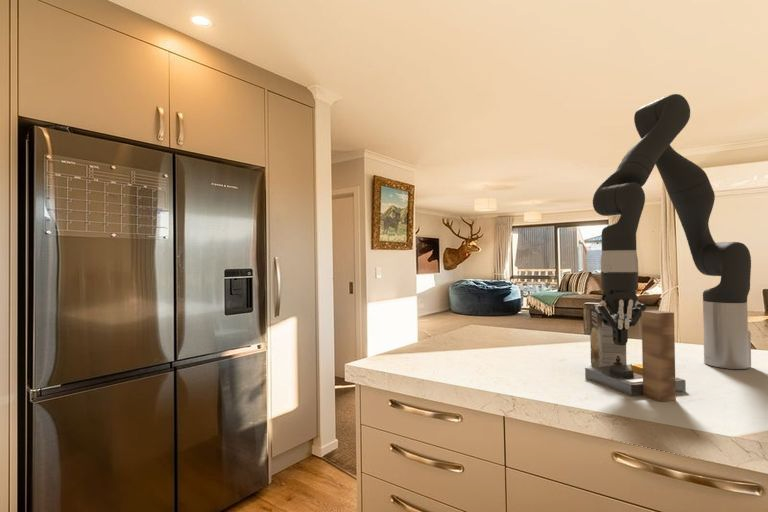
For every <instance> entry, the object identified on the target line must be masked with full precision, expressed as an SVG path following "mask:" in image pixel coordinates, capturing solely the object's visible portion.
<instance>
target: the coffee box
mask: <svg viewBox="0 0 768 512" xmlns="http://www.w3.org/2000/svg"><path fill="white" fill-rule="evenodd" d="M607 311H608V310H607ZM615 315H616V314H615ZM624 315H625V314H624ZM623 321H624V319H623ZM616 323H617V321H616ZM589 326H590V327H589V328H590V329H589V331H590V332H589V336H590V338H589V339H590V340H589V341H590V365H591V366H592V367H604V366H616V365H627V344H626V345H621V346H619V345H616V344H614V342H613V334H612V327H610V326H606V325H604V323H603V322H602V320H601V319H600V318H599V316H598V315H597V313H596V312H595V311H594V309H593V306H590V307H589Z"/></svg>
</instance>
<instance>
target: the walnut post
mask: <svg viewBox="0 0 768 512" xmlns="http://www.w3.org/2000/svg"><path fill="white" fill-rule="evenodd" d="M675 335H676V334H675V312H673V311H672V312H671V311H665V310H659V309H658V310H657V309H656V310H653V309H652V310H645V311H642V315H641V348H642V349H641V350H642V351H641V352H642V356H641V357H642V358H641V359H642V365H643V396H644V397H646V398H648V399H650V400H654V401H655V402H656V401H657V402H659V403H660V402H661V403H662V402H673V401H677V400H676V399H677V397H676V395H677V394H676V393H677V392H676V385H675V377H676V351H675V350H676V347H675V346H676V343H675V341H676V340H675ZM643 396H642V397H643Z"/></svg>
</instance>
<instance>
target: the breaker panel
mask: <svg viewBox="0 0 768 512" xmlns="http://www.w3.org/2000/svg"><path fill="white" fill-rule="evenodd" d="M584 374H585V377H584V378H585V379H587V380H588V381H592V382H594V383H596V384H599V385H601V386H604V387H607V388H609V389H611V390H613V391H616V392H618V393H621V394H623V395H626V396H629V397H643V364H640V363H630V364H626V365H616V366H604V367H593V366H592V367H585V368H584ZM686 382H687V381H686V379H682V378H680V377H676V376H675V385H676V393H683V392H684V393H685V392H686V391H687V390H686V389H687V388H686Z"/></svg>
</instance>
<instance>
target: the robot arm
mask: <svg viewBox="0 0 768 512" xmlns="http://www.w3.org/2000/svg"><path fill="white" fill-rule="evenodd" d="M690 119H691V107H690V105H689V102H688V100H687V99H686V98H685V97H684V96H683V95H682V94H677V93H672V94H669V95H667V96H664V97H661V98H659V99H656V100H654V101H652V102H650V103H648V104H645V105H643V106H641V107H640V108H638V109H636V110H635V113H634V117H633V121H634V126H635V129H636V131H637V134H638V135H639V138H640V140H639V141H637V143H635V144H634V145H633V146H632V147H630V149H628V151H627V152H626V154H625V155H624V156H623V158H622V159H621V162H620V163H619V164H618V167H617V168H616V170H615V171H614V172H613V173H612V174H611V175H609V177H607V178H606V179H605V180H604V181H603V182H602V183H601V184H600V185H599V187H597V189H596V191H595V192H594V193H593V197H592V207H593V210H594V212H595V213H597V214H598V215H599V216H603V217H610V216H618V215H619V216H620V217H619V218H618V220H617V222H615V223H613V224H610V225H608V226H605V227H604V228H602V230H601V256H600V289H601V290H602V295H601V298H600V299H601V301H600V302H599V303H598V304H593V306H592V307H593V309H594V311H595V312H596V313H597V315H598V316H599V318H600V319H601V320H602V322H603V323H604V325H606V326H610V327H612V334H613V342H614V344H616V345H619V346H621V345H626V346H627V343H628V341H629V339H628V338H629V337H628V331H629V329H630V327H635V326H636V325H637V323H638V322H639V321H640V318H642V311H646V309H647V305H646V304H645V303H641V302H639V301H638V295H637V293H636V292H637V291H639V260H638V253H637V231H638V227H639V224H640V220H641V217H642V213H643V211H644V207H645V202H646V195H645V191H644V189H643V186H644V185H645V184H646V182H647V181H648V180H649V177H650V176H651V174H652V171H653V169H654V168H655V166H656V168H657V170H658V172H659V174H660V178H661V180H662V182H663V184H664V187H665V189H666V192H667V195H668V198H669V199H670V201H671V203H672V206H673V208H674V210H675V212H676V214H677V216H678V220H679V221H680V224H681V226H682V229H683V231H684V235H685V238H686V241H687V245H688V248H689V251H690V255H691V258H692V261H693V264H694V265H695V267H696V269H697V271H699V273H701V275H704V276H712V277H720V281H719V283H718V284H717V285H715V286H714V287H711V288H708V289H705V290H703V292H702V317H703V319H702V321H703V323H702V324H703V326H702V329H703V363H704V364H706V365H709V366H711V367H716V368H722V369H727V370H729V369H731V370H747V369H749V368H751V367H752V346H751V345H752V344H751V343H752V342H751V341H752V339H751V331H750V330H749V318H748V314H749V313H748V297H749V293H750V290H751V276H752V275H751V274H752V273H751V272H752V271H751V269H752V257H751V253H750V252H751V251H750V250H749V248H748V247H747V245H745V244H744V243H743V242H739V241H726V242H725V241H722V242H719V241H718V242H715V240H714V239H713V236H712V234H711V231H710V226H709V222H710V216H711V215H712V211H713V208H714V205H715V200H716V199H715V198H716V196H715V191H714V189H713V186H712V184H711V181H710V179H709V177H708V175H707V173H706V172H705V171H704V169H703V168H702V167H700V166H699V165H698V164H696V163H694V162H693V161H691V160H689V159H688V158H686V157H684V156H683V155H682V154H680V153H679V152H677V151H676V150H675V149H674V148H673V147H672V146H671V144H672V143H673V141H675V139H676V137H677V136H678V135H679V134H680V133H681V132H682V131H683V130H684V129H685V127H686V125H688V123H689V121H690ZM607 310H608V311H607ZM615 314H616V315H615ZM624 314H625V315H624ZM623 319H624V321H623ZM616 321H617V323H616Z"/></svg>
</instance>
